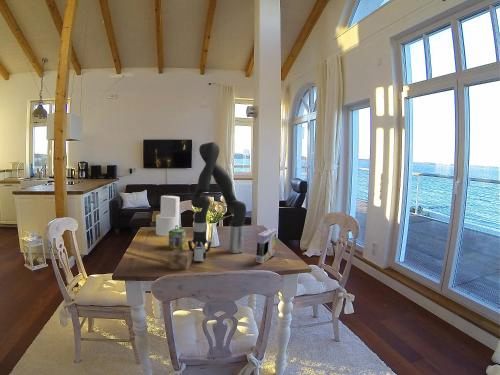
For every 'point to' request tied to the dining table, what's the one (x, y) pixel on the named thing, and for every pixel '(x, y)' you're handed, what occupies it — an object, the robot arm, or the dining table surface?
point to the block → (198, 254)
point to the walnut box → (180, 259)
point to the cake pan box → (266, 245)
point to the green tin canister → (177, 238)
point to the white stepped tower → (168, 215)
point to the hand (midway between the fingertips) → (199, 258)
